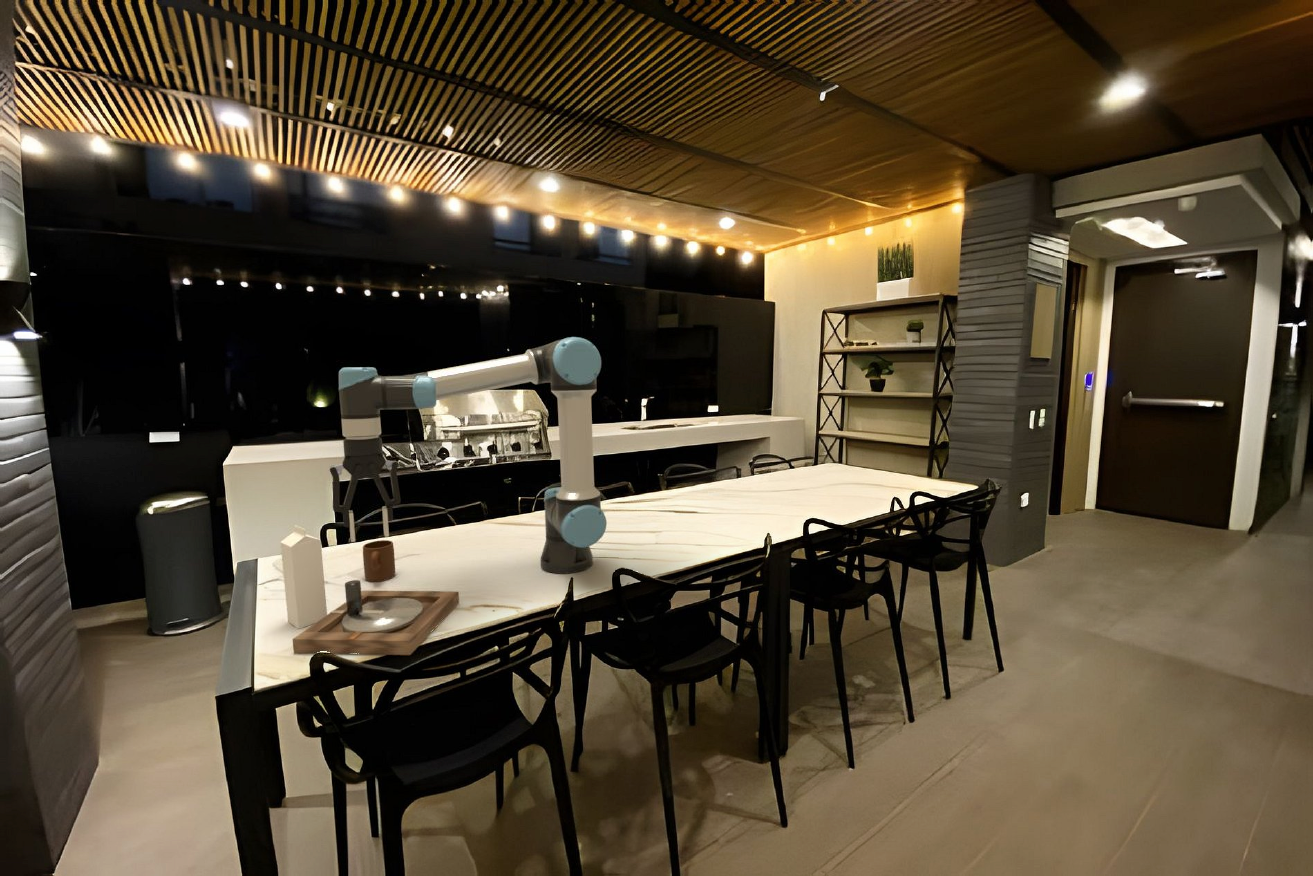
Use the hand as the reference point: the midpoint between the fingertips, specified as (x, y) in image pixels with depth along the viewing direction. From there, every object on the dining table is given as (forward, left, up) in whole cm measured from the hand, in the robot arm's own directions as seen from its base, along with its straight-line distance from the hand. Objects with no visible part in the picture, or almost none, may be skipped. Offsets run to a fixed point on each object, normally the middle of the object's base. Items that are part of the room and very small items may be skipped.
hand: (370, 537), depth 121 cm
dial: (-5, +5, -17) cm, 18 cm away
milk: (+14, +3, -19) cm, 24 cm away
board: (-5, +5, -19) cm, 20 cm away
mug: (+11, -21, -19) cm, 31 cm away
